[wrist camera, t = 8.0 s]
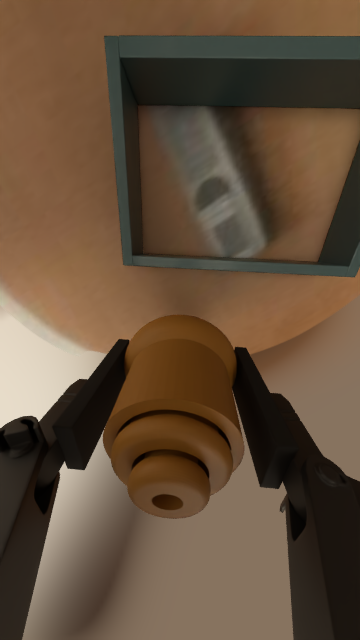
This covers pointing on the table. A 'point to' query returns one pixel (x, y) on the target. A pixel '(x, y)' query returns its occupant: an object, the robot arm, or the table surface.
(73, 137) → the table surface
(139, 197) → the rectangular frame
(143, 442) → the ornamental finial
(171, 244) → the table surface
